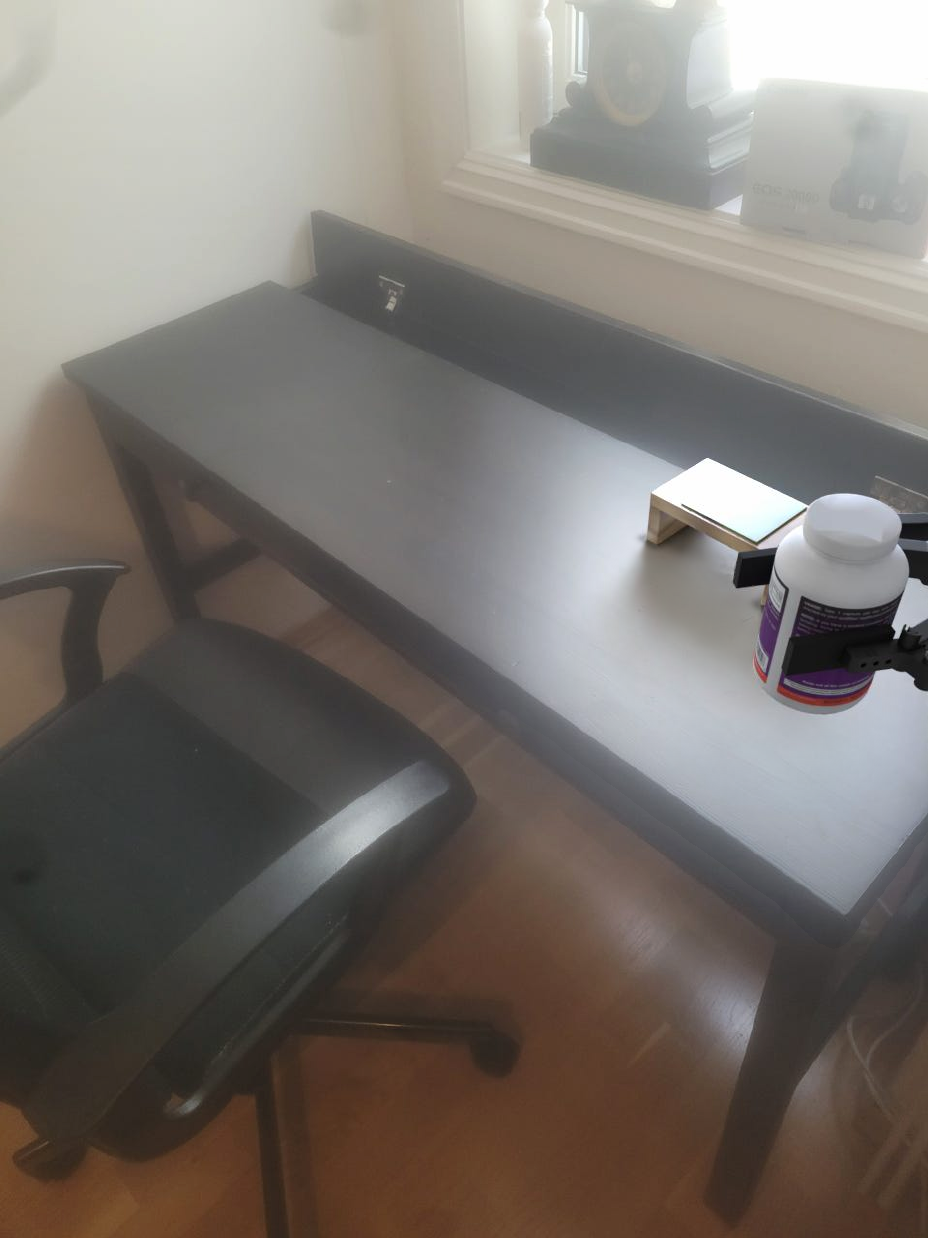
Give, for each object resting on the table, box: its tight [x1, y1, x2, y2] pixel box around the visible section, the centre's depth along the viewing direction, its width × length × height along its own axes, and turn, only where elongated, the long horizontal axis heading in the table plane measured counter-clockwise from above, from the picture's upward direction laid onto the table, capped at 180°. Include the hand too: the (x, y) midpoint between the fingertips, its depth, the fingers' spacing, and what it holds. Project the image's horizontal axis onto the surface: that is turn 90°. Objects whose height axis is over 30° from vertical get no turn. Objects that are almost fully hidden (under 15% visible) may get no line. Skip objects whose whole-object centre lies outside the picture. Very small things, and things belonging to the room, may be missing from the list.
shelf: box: [646, 457, 810, 607], centre depth 87 cm, size 16×9×6 cm, turn 40°
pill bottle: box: [752, 493, 909, 716], centre depth 58 cm, size 8×8×14 cm
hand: (761, 611), depth 57 cm, fingers closed on pill bottle, 8 cm apart
